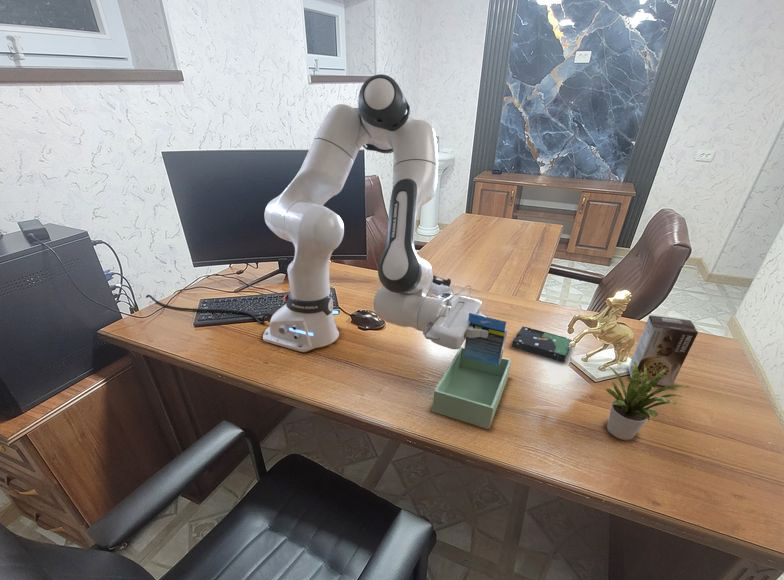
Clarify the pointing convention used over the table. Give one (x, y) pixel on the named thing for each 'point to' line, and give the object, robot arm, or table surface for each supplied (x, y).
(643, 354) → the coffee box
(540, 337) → the disk drive
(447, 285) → the clip-on lamp
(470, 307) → the robot arm
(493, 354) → the tape cartridge
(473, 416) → the bin
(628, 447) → the table surface
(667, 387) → the house plant
